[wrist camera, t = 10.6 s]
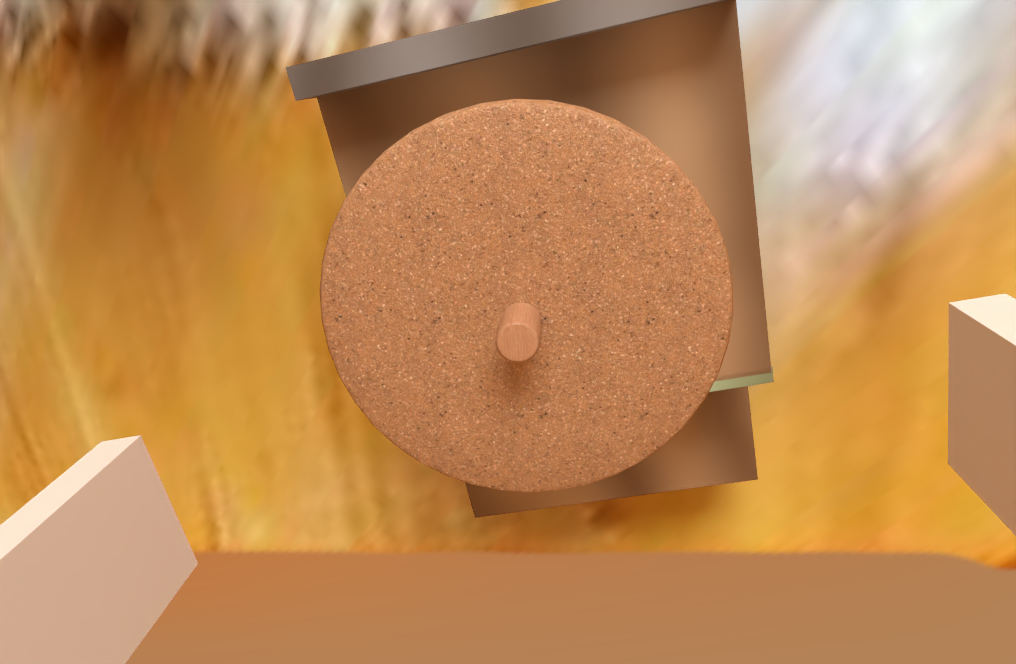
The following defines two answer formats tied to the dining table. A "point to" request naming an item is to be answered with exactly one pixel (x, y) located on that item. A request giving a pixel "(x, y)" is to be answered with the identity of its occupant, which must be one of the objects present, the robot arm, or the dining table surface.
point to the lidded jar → (526, 295)
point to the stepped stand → (622, 96)
